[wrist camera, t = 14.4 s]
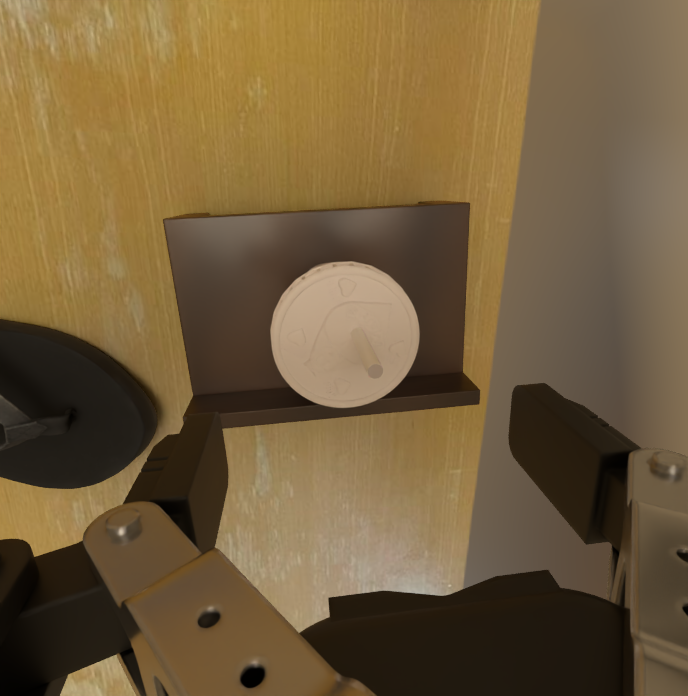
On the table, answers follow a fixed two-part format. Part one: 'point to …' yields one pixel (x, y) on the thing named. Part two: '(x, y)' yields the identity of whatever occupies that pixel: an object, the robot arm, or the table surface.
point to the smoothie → (344, 334)
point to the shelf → (289, 264)
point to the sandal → (66, 410)
